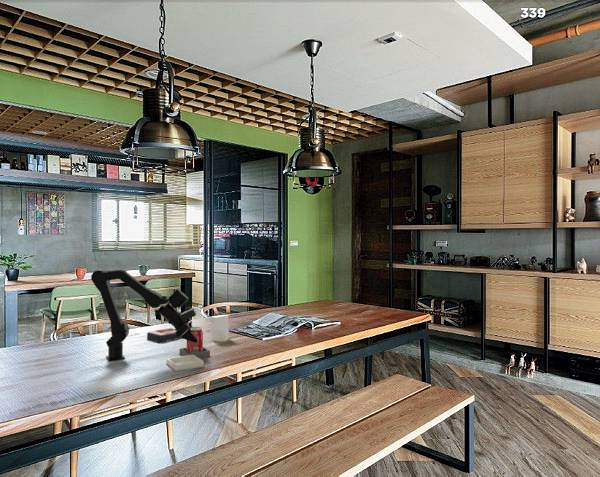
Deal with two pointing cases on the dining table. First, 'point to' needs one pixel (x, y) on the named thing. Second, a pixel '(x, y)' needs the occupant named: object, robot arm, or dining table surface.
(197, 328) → the soda can
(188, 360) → the tray
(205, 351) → the dark gray square tray
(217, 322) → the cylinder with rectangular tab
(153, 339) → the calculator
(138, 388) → the dining table surface
